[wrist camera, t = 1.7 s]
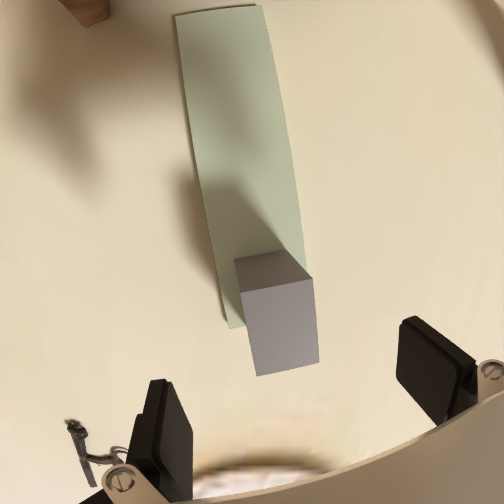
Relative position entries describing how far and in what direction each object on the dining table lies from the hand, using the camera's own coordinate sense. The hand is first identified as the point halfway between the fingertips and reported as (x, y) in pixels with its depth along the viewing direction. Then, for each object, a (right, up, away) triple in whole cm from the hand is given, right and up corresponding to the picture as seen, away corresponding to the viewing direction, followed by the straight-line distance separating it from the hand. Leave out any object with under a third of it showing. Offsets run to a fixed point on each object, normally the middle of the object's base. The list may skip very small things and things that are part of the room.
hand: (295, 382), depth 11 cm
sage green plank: (-2, +11, +9) cm, 14 cm away
